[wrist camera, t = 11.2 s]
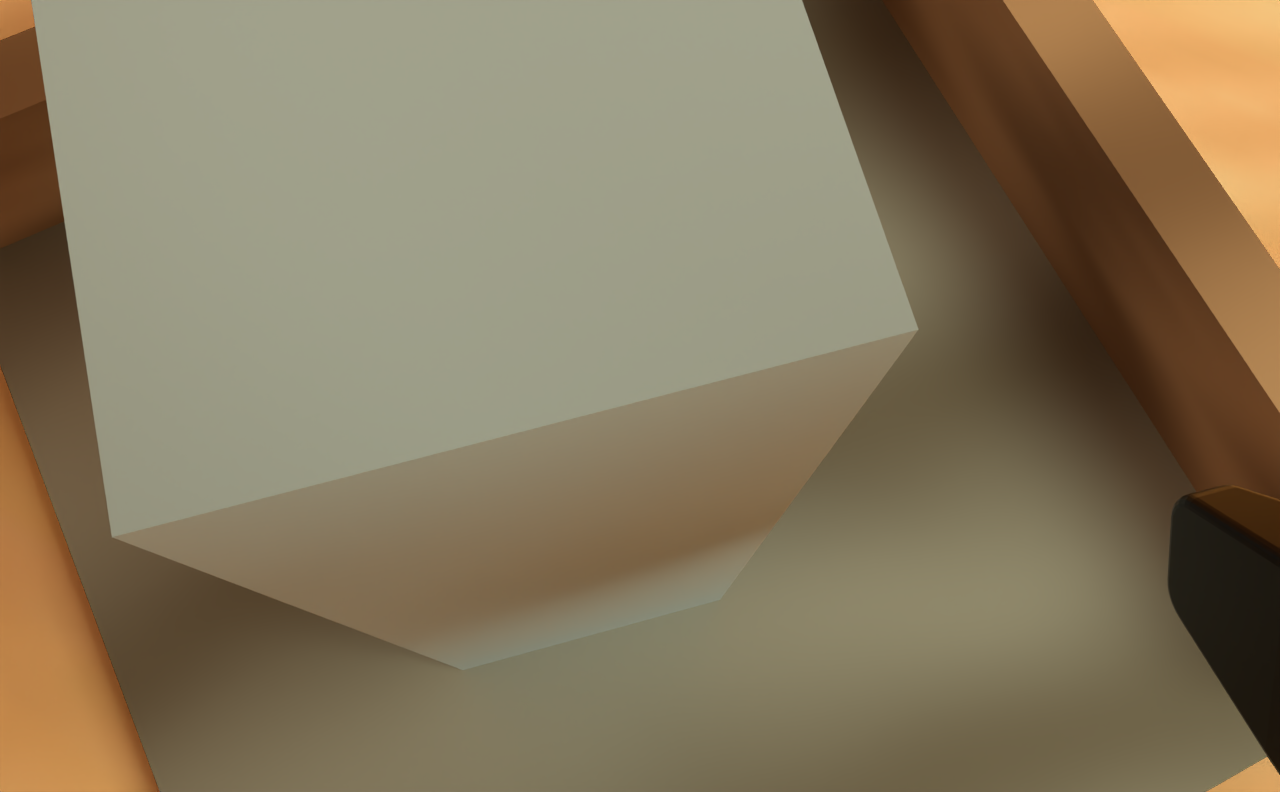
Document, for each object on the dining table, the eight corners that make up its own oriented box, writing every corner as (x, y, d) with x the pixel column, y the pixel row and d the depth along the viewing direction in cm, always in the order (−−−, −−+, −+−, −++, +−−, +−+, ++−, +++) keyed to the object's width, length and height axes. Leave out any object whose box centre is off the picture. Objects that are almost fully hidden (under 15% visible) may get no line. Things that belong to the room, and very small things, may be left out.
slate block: (719, 600, 18) (919, 329, 6) (462, 670, 18) (113, 536, 6) (650, 357, 19) (697, -295, 7) (406, 419, 19) (9, -153, 7)
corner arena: (1379, 679, 18) (1555, 667, 15) (353, 1265, 16) (279, 1413, 12) (837, -150, 22) (876, -312, 19) (-41, 219, 20) (-179, 112, 17)
